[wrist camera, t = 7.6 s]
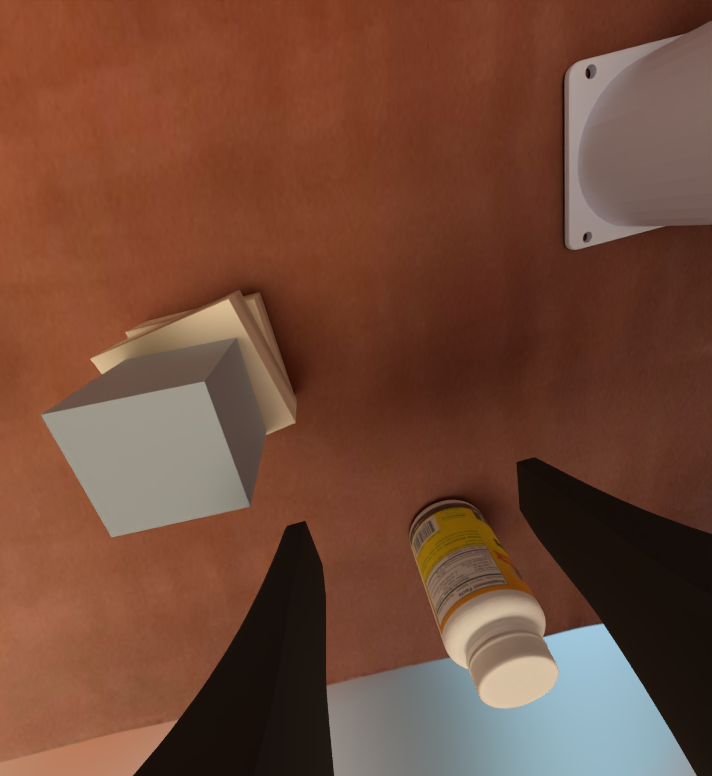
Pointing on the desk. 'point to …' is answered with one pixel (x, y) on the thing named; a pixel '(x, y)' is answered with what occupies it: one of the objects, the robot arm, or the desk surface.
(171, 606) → the desk surface
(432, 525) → the supplement bottle
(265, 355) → the top slab
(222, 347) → the gray block
